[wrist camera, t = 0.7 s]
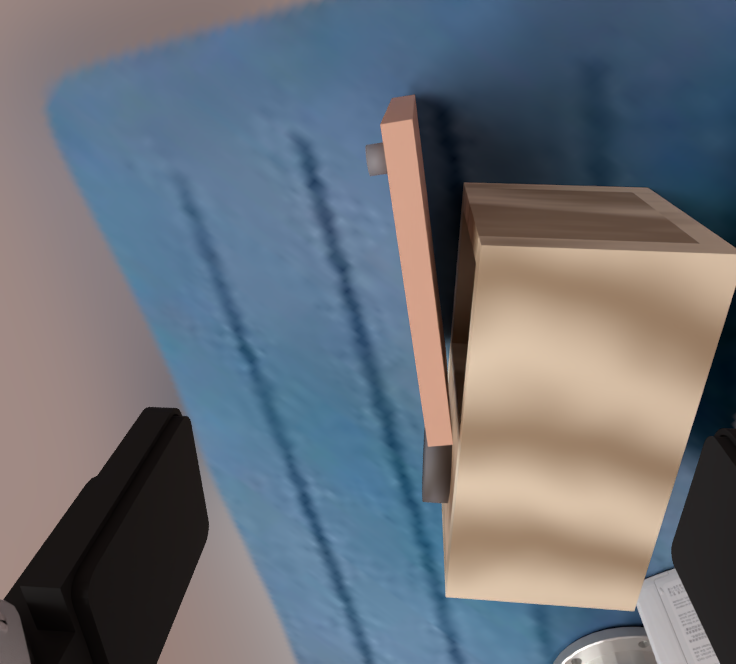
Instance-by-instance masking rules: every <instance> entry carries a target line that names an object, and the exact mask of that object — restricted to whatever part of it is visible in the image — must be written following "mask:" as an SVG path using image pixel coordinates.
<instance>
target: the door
mask: <svg viewBox="0 0 736 664" xmlns="http://www.w3.org/2000/svg"><path fill="white" fill-rule="evenodd" d="M380 125H381V132H382V139H383V143H377V144H370V145H366V159H367V166H368V171H369V174H370V176H375V175H381V174H388V179H389V186H390V193H391V200H392V206H393V213H394V220H395V227H396V233H397V240H398V247H399V254H400V260H401V267H402V274H403V281H404V288H405V294H406V301H407V308H408V315H409V321H410V328H411V335H412V342H413V348H414V355H415V362H416V369H417V376H418V382H419V389H420V396H421V403H422V409H423V416H424V423H425V430H426V436H427V443H428V447H431V446H443V445H453V438H452V425H451V412H450V399H449V386H448V373H447V359H446V347H445V339H444V330H443V322H442V314H441V306H440V297H439V289H438V281H437V273H436V264H435V256H434V248H433V239H432V231H431V223H430V215H429V206H428V198H427V190H426V182H425V173H424V165H423V157H422V149H421V140H420V132H419V124H418V115H417V107H416V99H415V95H409V96H403V97H397V98H392V100H391V102H390V104H389V106H388V108H387V111H386V113H385V115H384V117H383V120H382V122H381V124H380Z"/></svg>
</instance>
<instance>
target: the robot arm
mask: <svg viewBox="0 0 736 664" xmlns="http://www.w3.org/2000/svg"><path fill="white" fill-rule="evenodd" d="M208 530H209V521H208V515H207V510H206V504H205V499H204V493H203V487H202V481H201V476H200V471H199V465H198V459H197V453H196V448H195V442H194V437H193V431H192V425H191V421H190V419H189V417H187V416H182V414H181V412H180V410H179V409H177V408H159V407H148V408H145V409H144V410H143V412H142V413H141V414H140V416H139V417H138V419H137V420H136V422H135V423H134V424H133V426H132V427H131V429H130V430H129V431H128V433H127V434H126V436H125V437H124V439H123V440H122V442H121V443H120V444H119V446H118V447H117V449H116V450H115V451H114V453H113V454H112V456H111V457H110V458H109V460H108V461H107V463H106V464H105V465H104V467H103V468H102V470H101V471H100V473H99V474H98V475H97V476H96V477H94V478H92V479H91V480H90V481H89V482H88V483H87V484H86V485H85V486H84V488H83V489H82V491H81V492H80V493H79V495H78V496H77V498H76V499H75V500H74V502H73V503H72V505H71V506H70V507H69V509H68V510H67V512H66V513H65V514H64V516H63V517H62V519H61V520H60V522H59V523H58V524H57V526H56V527H55V528H54V530H53V531H52V533H51V534H50V536H49V537H48V538H47V540H46V541H45V542H44V544H43V545H42V546H41V548H40V549H39V551H38V552H37V554H36V555H35V556H34V558H33V559H32V560H31V562H30V563H29V565H28V566H27V567H26V569H25V570H24V572H23V573H22V575H21V576H20V577H19V579H18V580H17V582H16V583H15V584H14V586H13V587H12V588H11V590H10V591H9V593H8V594H7V595H6V597H5V598H4V600H0V664H157V661H158V659H159V656H160V654H161V652H162V649H163V647H164V644H165V642H166V639H167V637H168V634H169V632H170V629H171V627H172V624H173V622H174V620H175V617H176V615H177V612H178V610H179V607H180V605H181V602H182V600H183V597H184V595H185V592H186V590H187V587H188V585H189V583H190V580H191V578H192V575H193V573H194V570H195V568H196V565H197V563H198V560H199V558H200V555H201V553H202V551H203V548H204V545H205V543H206V540H207V536H208ZM671 554H672V560H673V564H674V567H675V569H676V571H677V573H678V575H679V578H680V580H681V582H682V584H683V586H684V588H685V590H686V592H687V595H688V597H689V599H690V601H691V603H692V605H693V607H694V609H695V612H696V614H697V616H698V618H699V620H700V622H701V624H702V626H703V629H704V631H705V633H706V635H707V637H708V639H709V641H710V644H711V646H712V648H713V650H714V652H715V654H716V656H717V658H718V661H719V663H720V664H736V429H727V428H723V429H719V430H718V431H717V432H716V434H715V436H710V437H708V438H707V439H706V440H705V443H704V445H703V449H702V452H701V455H700V458H699V461H698V464H697V467H696V471H695V474H694V477H693V480H692V483H691V486H690V489H689V493H688V496H687V499H686V502H685V505H684V508H683V512H682V515H681V518H680V521H679V524H678V527H677V530H676V534H675V537H674V540H673V543H672V549H671ZM553 664H657V661H656V658H655V655H654V653H653V650H652V647H651V644H650V642H649V639H648V636H647V633H646V631H645V628H644V627H619V628H612V629H606V630H602V631H599V632H595V633H592V634H590V635H587V636H585V637H582V638H580V639H579V640H577V641H575V642H574V643H572V644H570V645H569V646H568V647H567V648H566V649H564V650H563V651H562V652H561V653H560V654H559V656H558V657H557V658H556V660H555V661H554V663H553Z"/></svg>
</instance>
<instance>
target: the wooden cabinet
mask: <svg viewBox="0 0 736 664" xmlns="http://www.w3.org/2000/svg"><path fill="white" fill-rule="evenodd" d="M735 287H736V248H735V247H734V246H732V245H731V244H729V243H728V242H726V241H725V240H723V239H722V238H721V237H719V236H718V235H716V234H715V233H713V232H712V231H710V230H709V229H707V228H706V227H705V226H703V225H702V224H700V223H699V222H697V221H696V220H694V219H693V218H691V217H690V216H689V215H687V214H686V213H684V212H683V211H681V210H680V209H678V208H677V207H675V206H674V205H673V204H671V203H670V202H668V201H667V200H665V199H664V198H662V197H661V196H659V195H658V194H656V193H655V192H654V191H652V190H651V189H649V188H641V187H607V186H572V185H537V184H503V183H468V182H464V185H463V197H462V209H461V221H460V234H459V246H458V258H457V270H456V282H455V294H454V306H453V318H452V330H451V342H450V354H449V366H448V386H449V399H450V412H451V425H452V438H453V445H443V446H431V447H428V443H427V436H426V430H425V431H424V448H423V477H422V499H423V502H432V503H442V519H443V543H444V566H445V590H446V597H452V598H466V599H479V600H492V601H505V602H519V603H532V604H545V605H559V606H572V607H585V608H598V609H612V610H625V611H634V610H635V607H636V604H637V601H638V598H639V594H640V591H641V588H642V585H643V582H644V578H645V575H646V572H647V569H648V566H649V562H650V559H651V556H652V553H653V550H654V546H655V543H656V540H657V537H658V534H659V530H660V527H661V524H662V521H663V518H664V514H665V511H666V508H667V505H668V501H669V498H670V495H671V492H672V489H673V485H674V482H675V479H676V476H677V473H678V469H679V466H680V463H681V460H682V457H683V453H684V450H685V447H686V444H687V441H688V437H689V434H690V431H691V428H692V425H693V421H694V418H695V415H696V412H697V409H698V405H699V402H700V399H701V396H702V393H703V389H704V386H705V383H706V380H707V377H708V373H709V370H710V367H711V364H712V361H713V357H714V354H715V351H716V348H717V345H718V341H719V338H720V335H721V332H722V329H723V325H724V322H725V319H726V316H727V313H728V309H729V306H730V303H731V300H732V297H733V293H734V290H735Z"/></svg>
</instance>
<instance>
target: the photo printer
mask: <svg viewBox="0 0 736 664" xmlns="http://www.w3.org/2000/svg"><path fill="white" fill-rule="evenodd" d="M636 605H637V608H638V611H639V614H640V617H641V619H642V622H643V625H644V628H645V631H646V633H647V636H648V639H649V642H650V644H651V647H652V650H653V653H654V655H655V658H656V661H657V664H720V663H719V661H718V658H717V656H716V654H715V652H714V650H713V648H712V646H711V644H710V641H709V639H708V637H707V635H706V633H705V631H704V629H703V626H702V624H701V622H700V620H699V618H698V616H697V614H696V612H695V609H694V607H693V605H692V603H691V601H690V599H689V597H688V595H687V592H686V590H685V588H684V586H683V584H682V582H681V580H680V578H679V575H678V573H677V571H676V569H675V568H674V569H672V570H669V571H665V572H663V573H660V574H657V575H655V576H652V577H649V578H647V579H645V580H644V582H643V585H642V588H641V591H640V594H639V598H638V601H637V604H636Z"/></svg>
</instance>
